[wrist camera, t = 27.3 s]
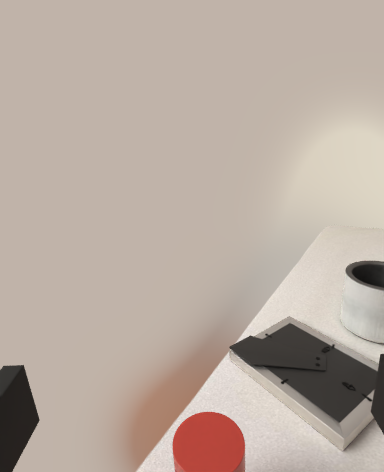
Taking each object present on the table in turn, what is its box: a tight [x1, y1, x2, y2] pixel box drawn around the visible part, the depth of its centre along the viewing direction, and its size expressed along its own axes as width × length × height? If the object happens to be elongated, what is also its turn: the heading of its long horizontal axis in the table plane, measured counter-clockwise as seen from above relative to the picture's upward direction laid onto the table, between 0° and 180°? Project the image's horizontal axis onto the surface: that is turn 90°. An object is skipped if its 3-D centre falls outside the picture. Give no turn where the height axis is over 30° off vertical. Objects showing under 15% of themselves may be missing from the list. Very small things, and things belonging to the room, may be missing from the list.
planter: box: [340, 261, 384, 344], centre depth 60 cm, size 13×13×11 cm
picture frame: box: [230, 316, 379, 451], centre depth 51 cm, size 16×3×21 cm
